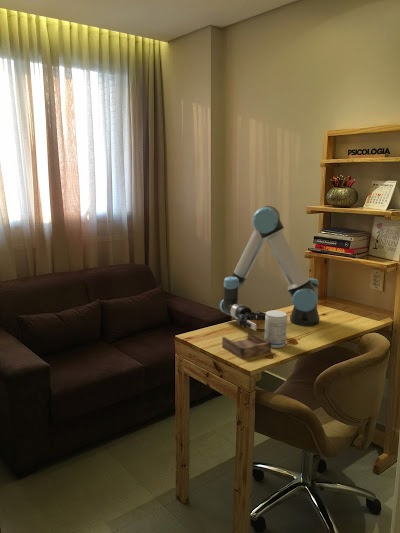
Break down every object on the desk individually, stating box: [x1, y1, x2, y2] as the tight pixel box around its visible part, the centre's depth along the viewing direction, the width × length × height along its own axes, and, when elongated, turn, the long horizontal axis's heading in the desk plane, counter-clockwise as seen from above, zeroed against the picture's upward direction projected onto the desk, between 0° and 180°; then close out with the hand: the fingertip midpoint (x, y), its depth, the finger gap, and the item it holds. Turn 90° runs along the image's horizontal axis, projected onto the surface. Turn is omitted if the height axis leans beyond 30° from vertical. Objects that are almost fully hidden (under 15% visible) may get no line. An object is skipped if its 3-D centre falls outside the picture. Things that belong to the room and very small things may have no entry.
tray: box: [221, 331, 272, 360], centre depth 197 cm, size 15×15×4 cm
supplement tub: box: [263, 309, 288, 349], centre depth 202 cm, size 10×10×15 cm
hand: (268, 325), depth 205 cm, fingers open, 13 cm apart
